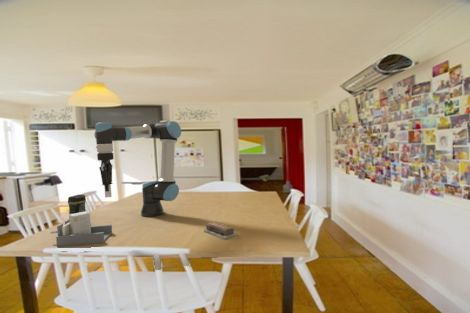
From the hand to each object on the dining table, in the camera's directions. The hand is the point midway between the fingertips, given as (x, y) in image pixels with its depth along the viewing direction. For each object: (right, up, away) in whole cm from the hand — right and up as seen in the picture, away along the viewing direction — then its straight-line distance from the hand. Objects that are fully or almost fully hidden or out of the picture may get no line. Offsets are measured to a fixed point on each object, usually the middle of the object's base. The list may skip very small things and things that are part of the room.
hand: (108, 196), depth 136 cm
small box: (-14, -22, -1) cm, 26 cm away
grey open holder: (-23, -21, -3) cm, 32 cm away
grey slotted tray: (-10, -22, -1) cm, 24 cm away
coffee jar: (-32, -22, +26) cm, 46 cm away
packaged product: (+59, -20, +2) cm, 63 cm away
